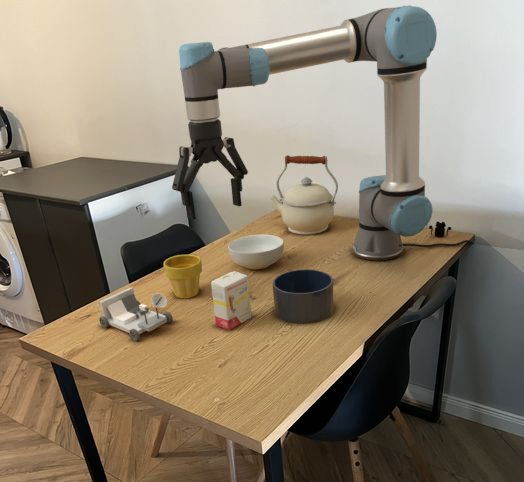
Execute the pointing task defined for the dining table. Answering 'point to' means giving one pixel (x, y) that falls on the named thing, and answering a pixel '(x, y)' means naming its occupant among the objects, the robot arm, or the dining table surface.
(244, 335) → the dining table surface
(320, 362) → the dining table surface
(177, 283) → the flower pot
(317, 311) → the dark blue round tub
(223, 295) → the ink box
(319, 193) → the kettle
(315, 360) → the dining table surface
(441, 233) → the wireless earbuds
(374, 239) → the robot arm
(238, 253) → the cereal bowl
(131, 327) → the toy car
